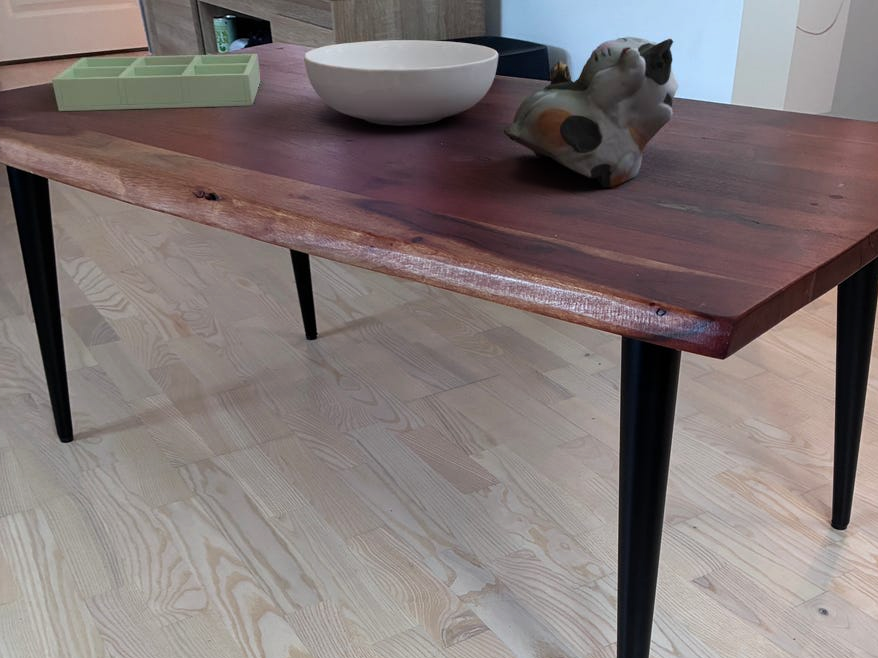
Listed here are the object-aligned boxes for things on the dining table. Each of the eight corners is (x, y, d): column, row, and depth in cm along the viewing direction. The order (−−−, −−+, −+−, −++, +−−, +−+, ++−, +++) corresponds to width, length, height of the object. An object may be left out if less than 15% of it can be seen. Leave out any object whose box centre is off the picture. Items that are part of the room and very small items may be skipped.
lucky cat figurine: (524, 146, 91) (596, 10, 87) (629, 207, 90) (708, 72, 85) (481, 135, 77) (564, -28, 73) (604, 207, 76) (697, 45, 71)
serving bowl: (534, 112, 105) (535, 48, 101) (416, 150, 90) (413, 76, 87) (394, 91, 116) (391, 32, 112) (268, 122, 101) (261, 55, 97)
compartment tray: (58, 111, 106) (51, 79, 104) (87, 86, 118) (81, 57, 117) (252, 105, 108) (248, 74, 107) (260, 82, 121) (257, 53, 119)
